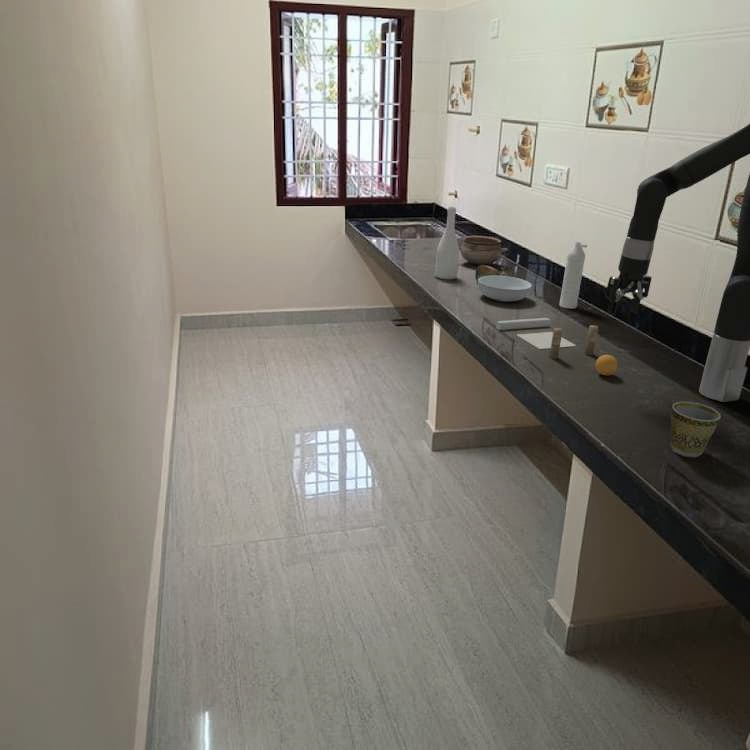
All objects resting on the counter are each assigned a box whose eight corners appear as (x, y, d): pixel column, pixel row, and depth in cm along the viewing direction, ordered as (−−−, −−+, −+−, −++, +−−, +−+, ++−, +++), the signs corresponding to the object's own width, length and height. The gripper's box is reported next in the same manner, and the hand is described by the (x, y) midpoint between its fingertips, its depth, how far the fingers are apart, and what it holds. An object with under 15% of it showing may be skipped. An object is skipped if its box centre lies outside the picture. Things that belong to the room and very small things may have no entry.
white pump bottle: (556, 304, 262) (566, 240, 252) (571, 304, 263) (582, 240, 254) (566, 310, 254) (577, 244, 244) (582, 310, 255) (593, 245, 246)
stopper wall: (548, 326, 235) (550, 319, 234) (499, 330, 228) (500, 323, 227) (545, 324, 236) (546, 317, 236) (496, 328, 230) (497, 321, 229)
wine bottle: (434, 274, 297) (440, 204, 286) (455, 275, 297) (462, 206, 286) (435, 279, 289) (441, 208, 277) (457, 280, 288) (464, 209, 277)
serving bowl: (505, 309, 252) (508, 291, 249) (465, 295, 267) (466, 278, 264) (540, 301, 264) (542, 284, 262) (499, 289, 279) (501, 272, 277)
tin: (473, 282, 288) (476, 262, 284) (480, 281, 289) (482, 262, 286) (493, 291, 275) (496, 271, 272) (500, 291, 276) (502, 270, 273)
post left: (559, 358, 205) (564, 330, 202) (552, 359, 204) (557, 330, 201) (554, 355, 207) (559, 327, 204) (547, 356, 207) (552, 328, 203)
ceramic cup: (694, 465, 147) (705, 424, 143) (653, 446, 154) (663, 407, 150) (725, 450, 154) (736, 411, 150) (684, 433, 161) (694, 395, 158)
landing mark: (576, 346, 217) (576, 345, 216) (539, 349, 212) (539, 348, 212) (551, 332, 229) (551, 331, 228) (516, 335, 224) (516, 334, 224)
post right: (594, 354, 210) (600, 327, 206) (588, 355, 209) (593, 328, 205) (589, 352, 212) (594, 324, 208) (582, 352, 211) (587, 325, 208)
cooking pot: (502, 262, 327) (505, 237, 322) (508, 271, 309) (511, 245, 305) (451, 259, 327) (453, 234, 323) (454, 268, 310) (456, 241, 305)
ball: (619, 377, 193) (623, 358, 191) (602, 379, 191) (606, 360, 188) (606, 370, 198) (610, 351, 196) (589, 371, 196) (593, 352, 194)
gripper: (628, 259, 173) (614, 319, 179) (665, 257, 179) (650, 315, 186) (606, 252, 179) (593, 310, 185) (643, 251, 185) (629, 307, 192)
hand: (622, 313), depth 185 cm, fingers open, 8 cm apart
